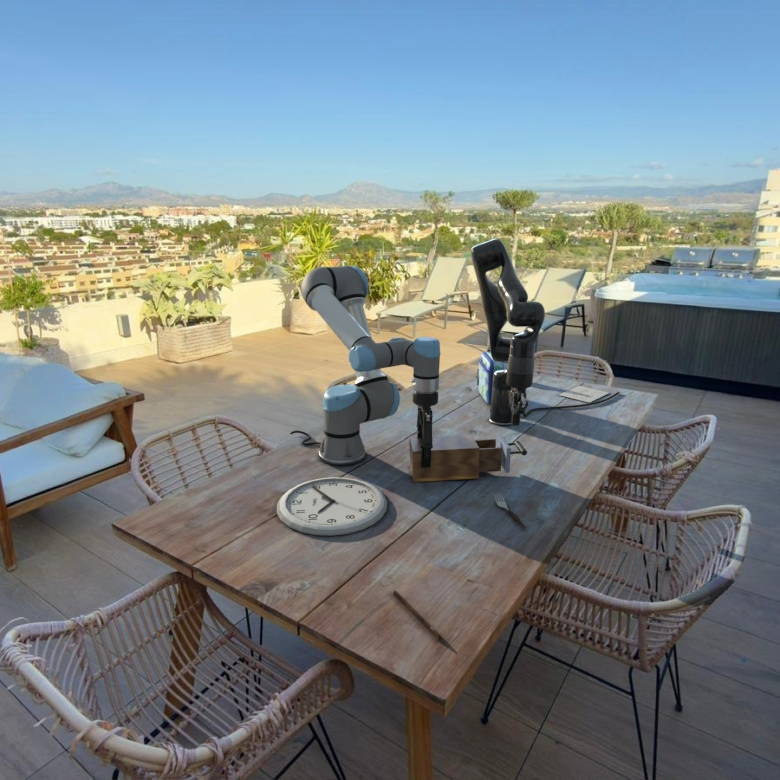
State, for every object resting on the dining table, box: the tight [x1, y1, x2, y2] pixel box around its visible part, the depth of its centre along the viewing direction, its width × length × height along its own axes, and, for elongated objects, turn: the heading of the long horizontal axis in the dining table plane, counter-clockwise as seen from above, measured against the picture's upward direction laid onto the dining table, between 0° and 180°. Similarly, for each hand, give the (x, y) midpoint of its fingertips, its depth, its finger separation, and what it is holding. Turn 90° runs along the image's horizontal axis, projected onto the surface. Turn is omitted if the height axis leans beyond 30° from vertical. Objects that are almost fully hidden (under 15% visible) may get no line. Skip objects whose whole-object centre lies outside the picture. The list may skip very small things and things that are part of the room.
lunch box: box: [476, 351, 508, 406], centre depth 230 cm, size 26×11×21 cm, turn 179°
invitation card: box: [558, 385, 610, 404], centre depth 243 cm, size 21×1×15 cm
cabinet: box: [408, 434, 480, 483], centre depth 161 cm, size 20×10×10 cm, turn 94°
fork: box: [493, 492, 526, 529], centre depth 140 cm, size 3×16×2 cm, turn 15°
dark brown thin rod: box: [392, 590, 441, 641], centre depth 102 cm, size 15×1×1 cm, turn 34°
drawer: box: [475, 436, 528, 474], centre depth 161 cm, size 24×9×8 cm, turn 94°
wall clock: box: [276, 476, 388, 537], centre depth 142 cm, size 30×2×30 cm
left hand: (423, 459), depth 160 cm, fingers closed on cabinet, 10 cm apart
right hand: (515, 424), depth 159 cm, fingers closed
